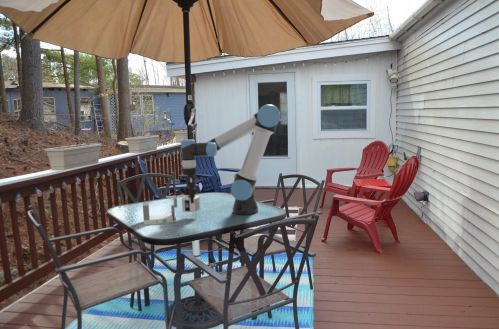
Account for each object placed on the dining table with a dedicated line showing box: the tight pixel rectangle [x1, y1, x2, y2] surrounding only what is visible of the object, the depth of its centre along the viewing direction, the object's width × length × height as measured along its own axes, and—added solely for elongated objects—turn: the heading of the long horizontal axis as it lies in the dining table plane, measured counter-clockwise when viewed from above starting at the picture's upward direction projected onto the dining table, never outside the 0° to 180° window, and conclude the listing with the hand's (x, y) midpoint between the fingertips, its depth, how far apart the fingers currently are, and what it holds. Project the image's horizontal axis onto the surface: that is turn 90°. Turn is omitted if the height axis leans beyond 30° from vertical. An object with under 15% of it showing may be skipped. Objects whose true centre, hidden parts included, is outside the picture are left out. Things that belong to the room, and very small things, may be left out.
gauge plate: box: [170, 194, 178, 221], centre depth 209 cm, size 3×10×12 cm, turn 15°
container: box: [181, 187, 201, 213], centre depth 212 cm, size 8×8×13 cm
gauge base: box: [142, 201, 177, 226], centre depth 208 cm, size 17×9×10 cm, turn 105°
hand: (191, 206), depth 212 cm, fingers closed on container, 10 cm apart
